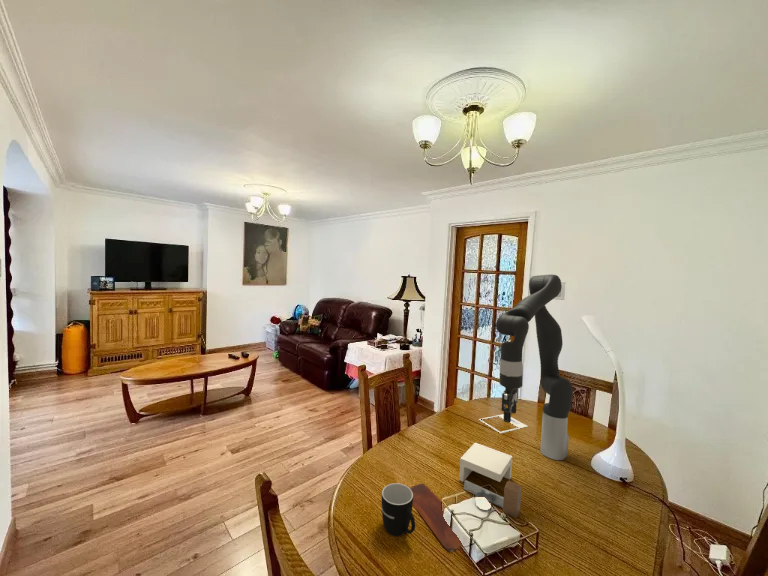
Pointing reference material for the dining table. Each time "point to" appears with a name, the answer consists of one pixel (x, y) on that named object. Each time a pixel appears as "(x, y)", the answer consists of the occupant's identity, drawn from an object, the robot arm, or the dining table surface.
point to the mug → (397, 509)
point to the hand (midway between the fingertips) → (510, 417)
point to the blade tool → (507, 502)
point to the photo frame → (513, 421)
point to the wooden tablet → (434, 516)
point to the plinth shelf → (485, 463)
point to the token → (484, 496)
